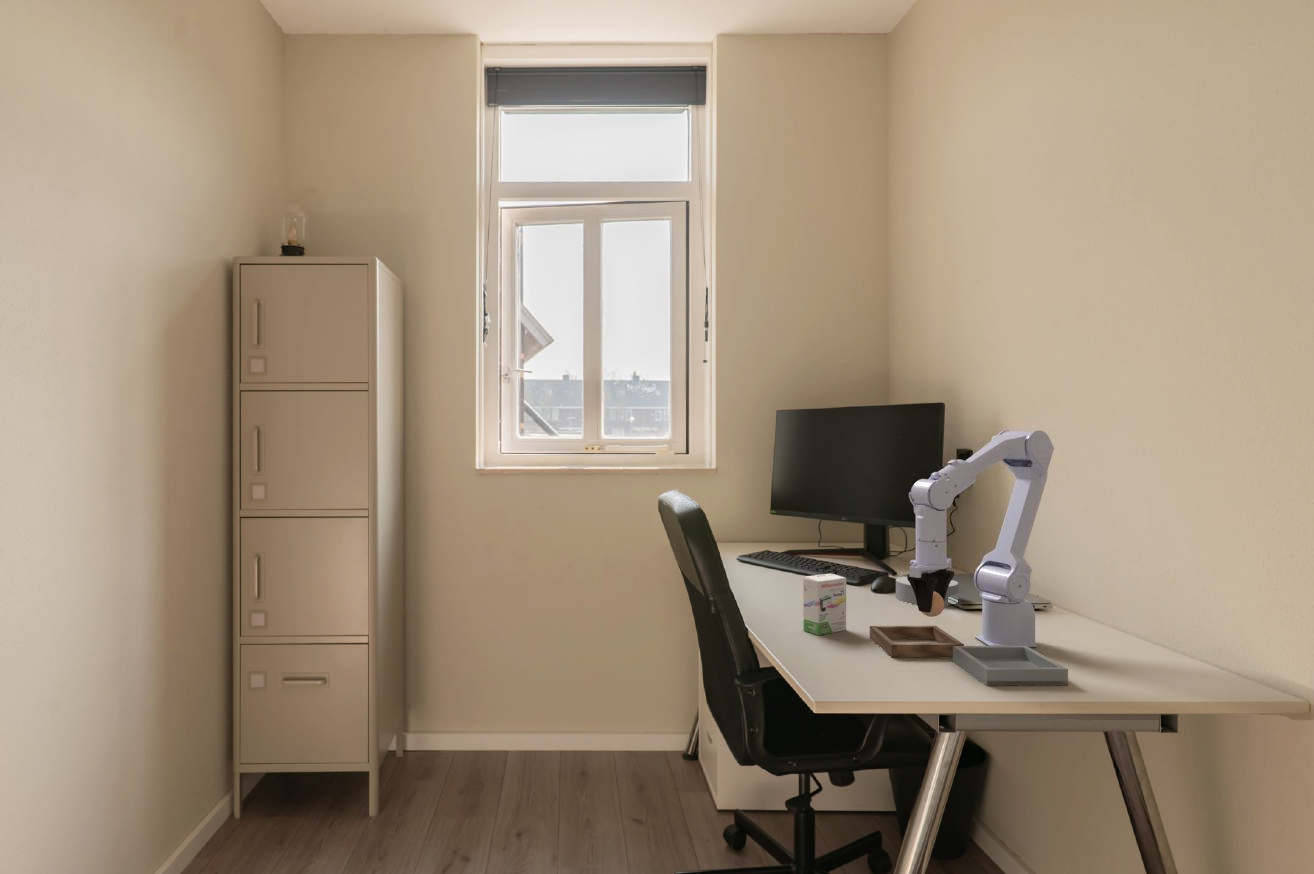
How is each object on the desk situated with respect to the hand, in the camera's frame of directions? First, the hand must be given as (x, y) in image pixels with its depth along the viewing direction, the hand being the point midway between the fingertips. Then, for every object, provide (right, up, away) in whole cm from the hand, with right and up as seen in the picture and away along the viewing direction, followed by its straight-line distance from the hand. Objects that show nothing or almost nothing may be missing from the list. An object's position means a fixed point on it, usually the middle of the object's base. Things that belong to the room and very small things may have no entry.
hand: (930, 609), depth 148 cm
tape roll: (+16, -9, +46) cm, 49 cm away
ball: (0, +1, 0) cm, 1 cm away
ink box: (-17, -9, +16) cm, 25 cm away
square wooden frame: (-2, -8, +3) cm, 9 cm away
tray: (+9, -9, -13) cm, 18 cm away
